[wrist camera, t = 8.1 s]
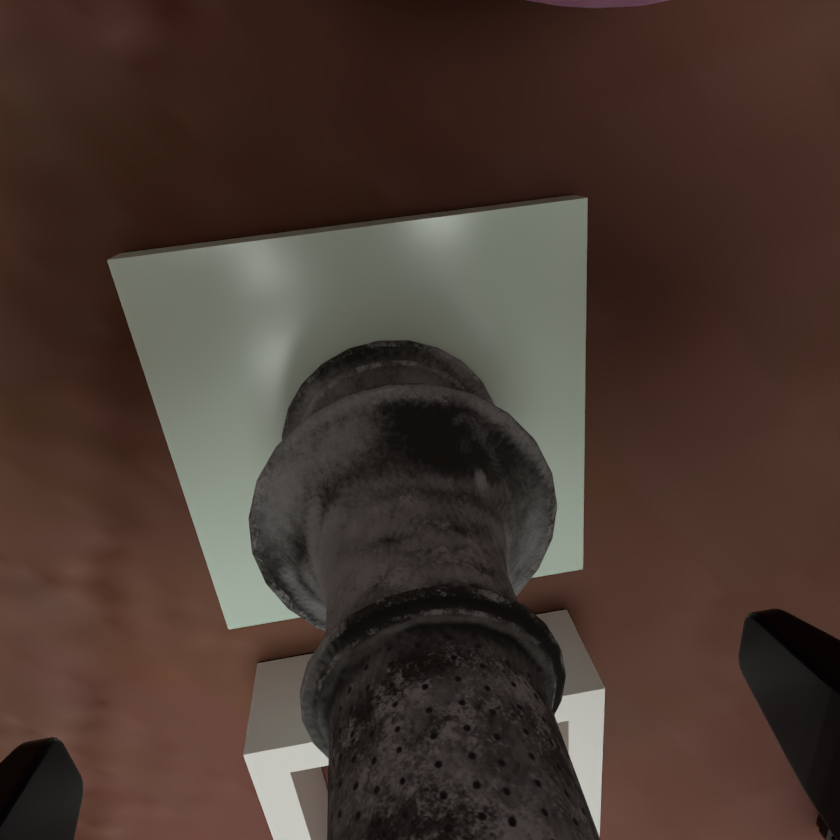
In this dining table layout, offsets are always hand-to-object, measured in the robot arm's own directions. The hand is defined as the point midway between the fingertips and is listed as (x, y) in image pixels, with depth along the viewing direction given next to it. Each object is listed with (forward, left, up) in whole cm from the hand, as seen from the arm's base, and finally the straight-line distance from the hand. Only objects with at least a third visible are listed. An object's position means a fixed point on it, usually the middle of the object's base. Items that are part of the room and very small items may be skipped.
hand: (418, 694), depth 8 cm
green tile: (0, 0, -8) cm, 8 cm away
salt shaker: (0, 0, -8) cm, 8 cm away
